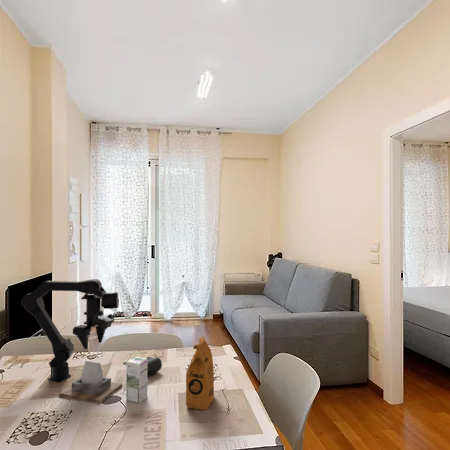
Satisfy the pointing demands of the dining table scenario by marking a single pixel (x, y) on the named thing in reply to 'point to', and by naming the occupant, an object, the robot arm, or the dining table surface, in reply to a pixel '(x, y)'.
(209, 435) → the dining table surface
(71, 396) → the dock
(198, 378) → the coffee package
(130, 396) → the syrup box
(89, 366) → the tea bag
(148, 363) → the end cap
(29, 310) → the robot arm
